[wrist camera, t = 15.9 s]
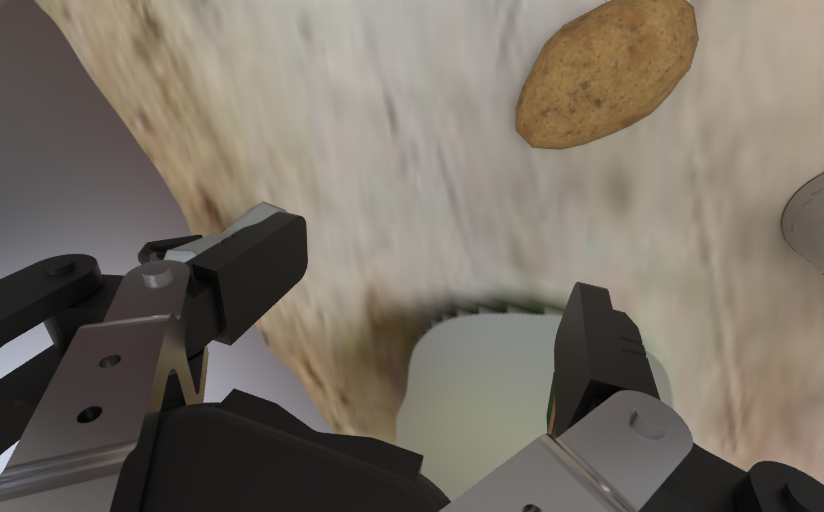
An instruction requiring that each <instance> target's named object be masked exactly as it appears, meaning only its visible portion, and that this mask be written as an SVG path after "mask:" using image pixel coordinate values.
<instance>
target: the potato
mask: <svg viewBox="0 0 824 512" xmlns="http://www.w3.org/2000/svg"><path fill="white" fill-rule="evenodd" d="M698 40H699V38H698V32H697V25H696V19H695V13H694V7H693V6H692V5H691V4H690V3H688V2H687V1H686V0H611V1H609V2H606V3H605V4H603V5H601V6H599V7H597V8H595V9H593V10H591V11H590V12H588V13H586V14H584V15H582V16H580V17H578V18H577V19H575V20H573V21H571V22H569V23H567V24H566V25H564V26H563V27H562V28H561V29H560V30H559V31H558V32H557V33H556V34H555V35H554V36H553V37H552V38H551V39H549V40H548V41H547V42H546V43H545V45H544V47H543V49H542V51H541V53H540V55H539V57H538V59H537V61H536V62H535V64H534V66H533V68H532V70H531V72H530V74H529V76H528V78H527V80H526V82H525V84H524V86H523V88H522V91H521V94H520V97H519V100H518V103H517V106H516V131H517V132H518V133H519V134H520V135H521V136H522V137H523V138H524V139H525V140H526V141H527V142H528V143H529V144H530V145H531V147H533V148H547V149H565V148H569V147H574V146H578V145H582V144H586V143H588V142H591V141H594V140H596V139H599V138H602V137H604V136H607V135H610V134H612V133H614V132H617V131H619V130H621V129H624V128H626V127H628V126H630V125H632V124H634V123H636V122H637V121H639V120H641V119H643V118H644V117H646V116H648V115H650V114H651V113H652V112H653V111H654V110H655V109H656V108H657V107H658V106H659V105H660V104H661V103H662V102H663V101H664V100H665V99H666V98H667V97H668V96H669V95H670V93H671V92H672V91H673V89H674V88H675V86H676V85H677V84H678V82H679V81H680V80H681V79H682V77H683V76H684V75H685V74H686V73H687V72H688V70H689V69H690V67H691V64H692V60H693V57H694V53H695V50H696V47H697V43H698Z"/></svg>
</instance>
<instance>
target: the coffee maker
mask: <svg viewBox="0 0 824 512" xmlns="http://www.w3.org/2000/svg"><path fill="white" fill-rule="evenodd" d="M278 211H282V212H286V210H283V209H281V208H278V207H276V206H273V205H271V204H268V203H266V202H262V203H260V204H259V205H257V206H255V207H254V208H252V209H250V210H249V211H247V212H246V213H245V214H244V215H243V216H241V217H240V218H239V219H238V220H237V221H236V222H235V223H233V224H232V225H231V226H230V227H229V228H228V229H227V230H225V231H224V232H223V233H222V234H217V233H214V234H212V235H209V236H206V237H204V238H202V235H194V236H187V237H180V238H174V239H167V240H160V241H153V242H148V243H147V244H145V245H144V247H143V248H142V250H141V251H140V252H139V254H138V260H139V262H140V263H141V264H142V265H143V264H145V263H149V262H153V261H160V260H175V261H180V262H183V263H185V262H187V261H188V260H190V259H192V258H193V257H195V256H197V255H198V254H200V253H202V252H203V251H205V250H207V249H208V248H210V247H212V246H213V245H215V244H217V243H220V241H222V240H223V239H225V238H227V237H231V235H232V234H233V233H235V232H237V231H238V230H240V229H242V228H243V227H247V226H250V225H253V224H256V223H259V222H261V221H263V220H264V219H266V218H267V217H269V216H271V215H272V214H274V213H276V212H278ZM286 213H287V212H286Z"/></svg>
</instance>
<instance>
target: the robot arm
mask: <svg viewBox="0 0 824 512" xmlns="http://www.w3.org/2000/svg"><path fill="white" fill-rule="evenodd" d="M782 231H783V234H784V237H785V239H786V241H787V242H788V243H789V245H790V246H791V247H792V248H793V249H794V250H795V251H797V252H798V253H799V254H800V255H801V256H803V257H804V258H805V259H806V260H807V261H808V262H810V263H811V264H812V265H813V266H814V267H815V268H816V269H818V270H819V271H820V272H821V273H822V274H824V174H822V175H820V176H818V177H817V178H815V179H814V180H812V181H810V182H809V183H807V184H806V185H805V186H804V187H803V188H802V189H801V190H799V191H798V192H797V193H796V194H795V196H794V197H793V198H792V200H791V201H790V202H789V204H788V206H787V208H786V210H785V212H784V215H783V220H782ZM307 264H308V254H307V230H306V221H305V219H304V217H302V216H299V215H295V214H290V213H286V212H282V211H278V212H276V213H274V214H272V215H271V216H269V217H267V218H266V219H264V220H263V221H261V222H259V223H256V224H253V225H250V226H247V227H243V228H242V229H240V230H238V231H237V232H235V233H233V234H232V235H231V237H227V238H225V239H223V240H222V241H220V243H217V244H215V245H213V246H212V247H210V248H208V249H207V250H205V251H203V252H202V253H200V254H198V255H197V256H195V257H193V258H192V259H190V260H188V261H187V262H185V263H183V262H180V261H175V260H160V261H153V262H149V263H145V264H143V265H140V266H138V267H135V268H134V269H132V270H130V271H129V272H128V273H127V274H126V275H125V276H120V275H103V274H101V271H100V269H99V266H98V263H97V260H96V259H95V258H94V257H92V256H89V255H85V254H67V255H60V256H55V257H51V258H48V259H45V260H42V261H39V262H37V263H35V264H33V265H30V266H28V267H26V268H24V269H22V270H19V271H17V272H15V273H13V274H11V275H9V276H6V277H5V278H2V279H0V348H1V347H2V346H3V345H4V344H6V343H8V342H9V341H11V340H13V339H15V338H16V337H18V336H19V335H21V334H23V333H25V332H27V331H28V330H30V329H32V328H33V327H35V326H37V325H38V324H40V323H42V322H44V324H45V327H46V328H47V330H48V333H49V335H50V337H51V339H52V341H53V343H54V344H53V345H52V346H50V347H49V348H47V349H46V350H44V351H43V352H41V353H40V354H38V355H36V356H35V357H33V358H32V359H30V360H29V361H27V362H26V363H24V364H23V365H21V366H20V367H18V368H16V369H15V370H13V371H12V372H10V373H9V374H7V375H6V376H4V377H3V378H1V379H0V455H1V454H2V453H3V452H5V451H6V450H7V449H8V448H10V447H11V446H12V445H14V444H15V443H16V442H17V441H19V440H20V441H19V442H18V444H17V446H16V448H15V450H14V452H13V454H12V456H11V458H10V459H9V461H8V463H7V465H6V467H5V469H4V471H3V472H2V473H1V474H0V512H824V485H823V484H821V483H820V482H818V481H817V480H815V479H814V478H812V477H811V476H809V475H807V474H806V473H804V472H802V471H800V470H798V469H796V468H793V467H791V466H788V465H786V464H782V463H779V462H774V461H762V462H758V463H756V464H755V465H754V466H753V467H752V468H751V469H750V470H749V471H748V472H745V471H743V470H742V469H740V468H738V467H736V466H734V465H732V464H730V463H728V462H727V461H725V460H723V459H721V458H719V457H717V456H715V455H713V454H711V453H710V452H708V451H706V450H704V449H703V448H701V447H699V446H698V445H696V444H695V443H693V438H692V435H691V432H690V430H689V428H688V426H687V425H686V423H685V422H684V420H683V419H682V418H681V417H680V416H679V415H678V414H677V413H676V412H675V411H674V410H673V409H672V408H670V407H669V406H668V405H666V404H665V403H663V402H662V401H661V400H660V397H659V394H658V391H657V388H656V384H655V381H654V378H653V374H652V371H651V368H650V365H649V362H648V358H646V352H645V349H644V345H642V339H641V336H640V333H639V329H638V327H637V326H636V325H635V323H634V322H633V321H632V320H631V319H630V318H629V316H628V315H627V314H626V313H625V312H621V311H617V310H613V308H612V304H611V300H610V296H609V291H608V289H606V288H602V287H597V286H593V285H589V284H585V283H580V282H577V283H576V284H575V286H574V288H573V290H572V293H571V295H570V298H569V301H568V303H567V306H566V309H565V311H564V314H563V317H562V320H561V322H560V325H559V328H558V331H557V335H556V339H555V347H554V365H555V366H554V367H555V369H554V370H555V439H554V438H553V437H552V436H551V435H550V434H544V435H542V436H540V437H538V438H537V439H536V440H534V441H533V442H531V443H530V444H529V445H527V446H526V447H525V448H523V449H522V450H521V451H519V452H518V453H517V454H515V455H514V456H513V457H511V458H510V459H508V460H507V461H506V462H504V463H503V464H502V465H500V466H499V467H498V468H496V469H495V470H494V471H493V472H491V473H490V474H488V475H487V476H486V477H484V478H483V479H482V480H480V481H479V482H478V483H476V484H475V485H474V486H472V487H471V488H470V489H468V490H467V491H465V492H464V493H463V494H461V495H460V496H459V497H457V498H456V499H455V500H453V501H452V502H451V501H450V500H449V499H448V497H447V496H445V494H444V493H443V492H442V491H441V490H440V489H439V488H438V487H437V486H436V485H435V484H434V483H432V482H431V481H430V480H429V479H427V478H426V477H424V476H423V475H422V474H420V472H421V467H422V462H423V455H420V454H417V453H415V452H412V451H409V450H406V449H403V448H400V447H398V446H395V445H392V444H389V443H386V442H384V441H381V440H378V439H375V438H371V437H361V436H350V435H340V434H330V433H321V432H317V431H315V430H313V429H311V428H310V427H308V426H307V425H306V424H304V423H303V422H302V421H300V420H299V419H297V418H296V417H295V416H293V415H292V414H290V413H289V412H288V411H286V410H285V409H284V408H282V407H281V406H279V405H278V404H276V403H274V402H271V401H268V400H265V399H262V398H259V397H256V396H254V395H251V394H248V393H245V392H243V391H240V390H237V389H233V390H232V391H231V392H230V393H229V394H228V396H227V397H226V398H225V399H224V400H223V401H222V402H221V403H203V400H204V391H205V382H206V373H207V364H208V348H207V344H208V343H210V342H211V341H212V340H215V341H218V342H221V343H224V344H227V345H230V346H231V345H232V344H233V343H234V342H235V341H236V340H237V339H238V338H239V337H241V336H242V335H243V334H244V333H245V332H246V331H247V330H248V329H249V328H250V327H251V326H252V325H253V324H254V323H255V322H256V321H257V320H259V319H260V318H261V317H262V316H263V315H264V314H265V313H266V312H267V311H268V310H269V309H270V308H271V307H272V306H273V305H274V304H275V303H277V302H278V301H279V300H280V299H281V298H282V297H283V296H284V295H285V294H286V293H287V292H288V291H289V290H290V289H291V288H292V287H293V286H295V285H296V284H297V283H298V282H299V281H300V280H301V279H302V277H303V276H304V274H305V272H306V269H307Z"/></svg>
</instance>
